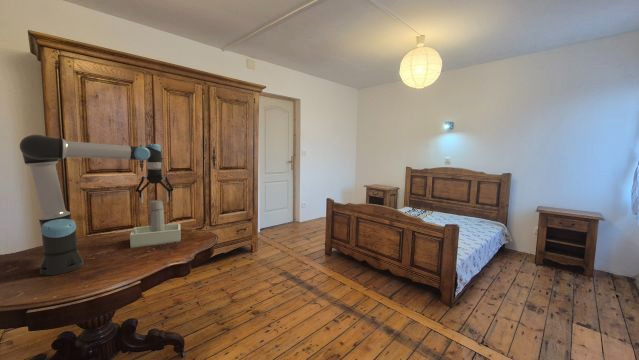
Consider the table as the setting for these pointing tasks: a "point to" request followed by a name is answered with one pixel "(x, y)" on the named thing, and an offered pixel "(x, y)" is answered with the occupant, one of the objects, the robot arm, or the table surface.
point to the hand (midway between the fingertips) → (155, 202)
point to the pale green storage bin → (155, 236)
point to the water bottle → (156, 216)
